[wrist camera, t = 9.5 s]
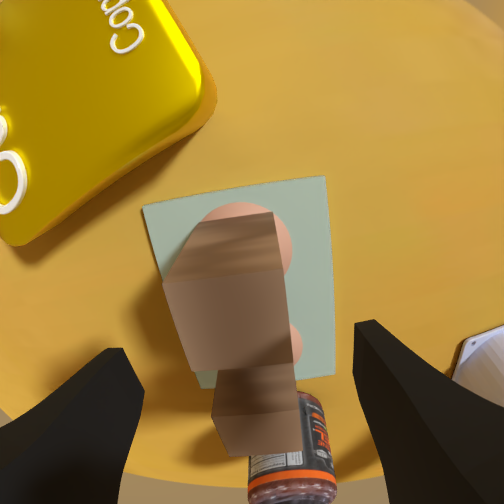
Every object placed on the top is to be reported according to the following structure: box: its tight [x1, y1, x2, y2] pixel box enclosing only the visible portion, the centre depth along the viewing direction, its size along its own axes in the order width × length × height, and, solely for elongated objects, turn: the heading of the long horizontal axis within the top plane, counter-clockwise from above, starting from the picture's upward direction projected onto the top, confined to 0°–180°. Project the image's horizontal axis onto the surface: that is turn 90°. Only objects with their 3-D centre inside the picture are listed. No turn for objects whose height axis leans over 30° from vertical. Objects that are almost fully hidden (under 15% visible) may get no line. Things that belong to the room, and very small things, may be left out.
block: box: [211, 363, 303, 457], centre depth 16 cm, size 4×4×7 cm
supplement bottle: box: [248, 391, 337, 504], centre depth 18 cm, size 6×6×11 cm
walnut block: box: [162, 211, 294, 371], centre depth 14 cm, size 4×4×7 cm
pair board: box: [142, 175, 335, 389], centre depth 18 cm, size 10×14×1 cm
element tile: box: [0, 0, 217, 247], centre depth 12 cm, size 15×15×5 cm
